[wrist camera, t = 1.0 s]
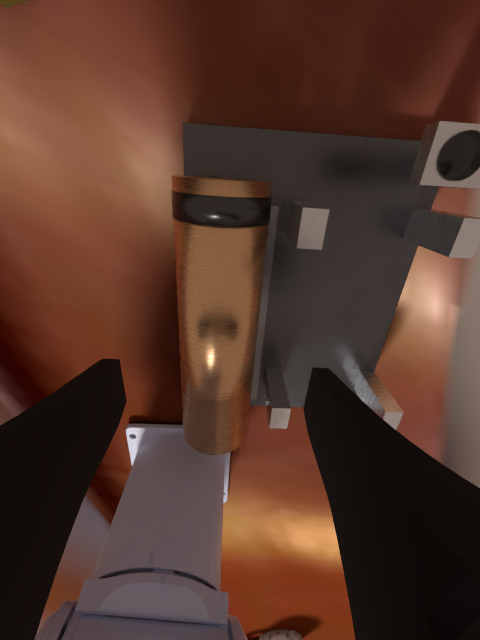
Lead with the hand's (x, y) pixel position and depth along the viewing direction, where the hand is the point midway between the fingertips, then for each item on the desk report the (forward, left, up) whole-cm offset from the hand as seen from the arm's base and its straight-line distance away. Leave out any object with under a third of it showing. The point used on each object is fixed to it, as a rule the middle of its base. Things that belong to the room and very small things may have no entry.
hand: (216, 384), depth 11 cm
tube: (0, 0, -6) cm, 6 cm away
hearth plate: (+1, -4, -7) cm, 8 cm away
